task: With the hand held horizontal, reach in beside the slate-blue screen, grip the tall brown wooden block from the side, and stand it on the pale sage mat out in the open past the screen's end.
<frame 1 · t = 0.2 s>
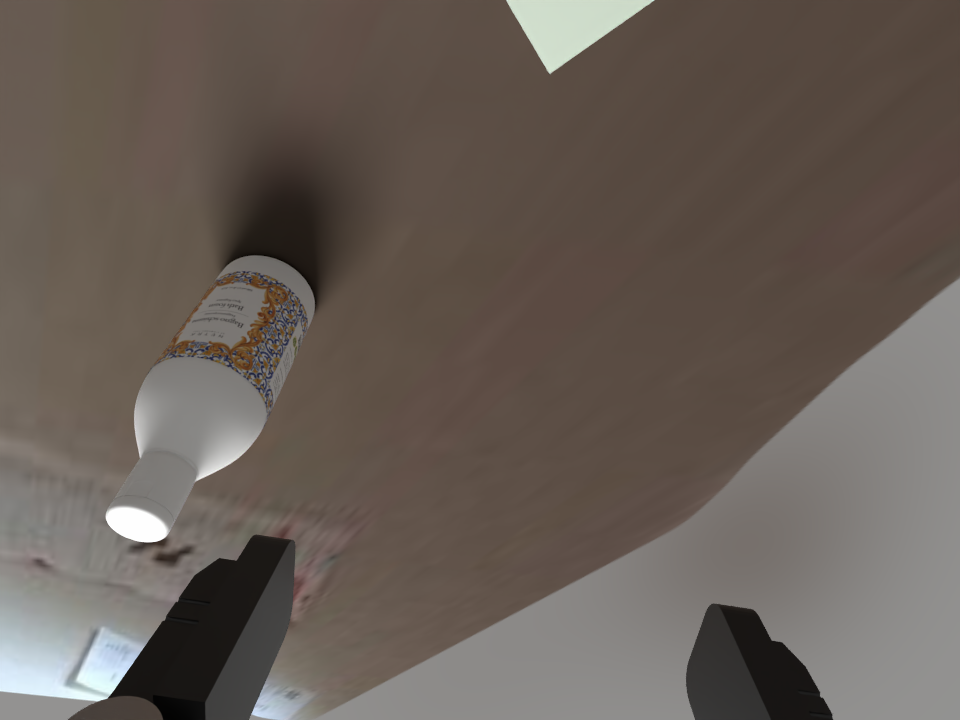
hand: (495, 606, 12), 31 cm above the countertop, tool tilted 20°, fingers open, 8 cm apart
bath foam: (270, 292, 45), on the countertop
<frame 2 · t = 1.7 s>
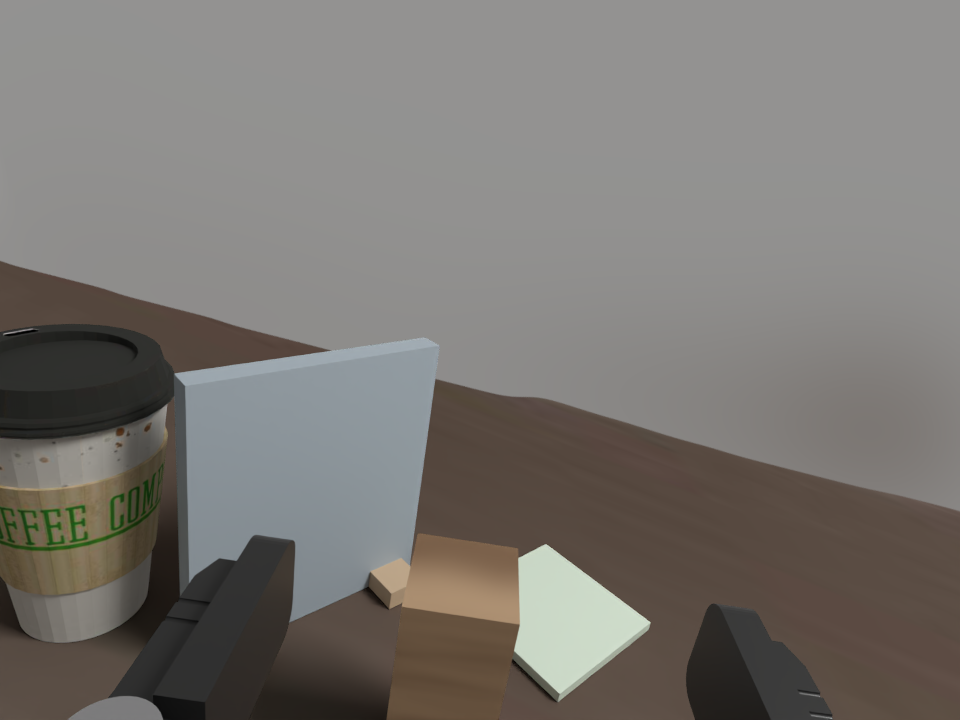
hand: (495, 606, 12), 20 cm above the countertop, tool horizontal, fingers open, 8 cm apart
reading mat: (549, 614, 39), on the countertop
coffee cup: (86, 602, 35), on the countertop
screen: (308, 604, 37), on the countertop
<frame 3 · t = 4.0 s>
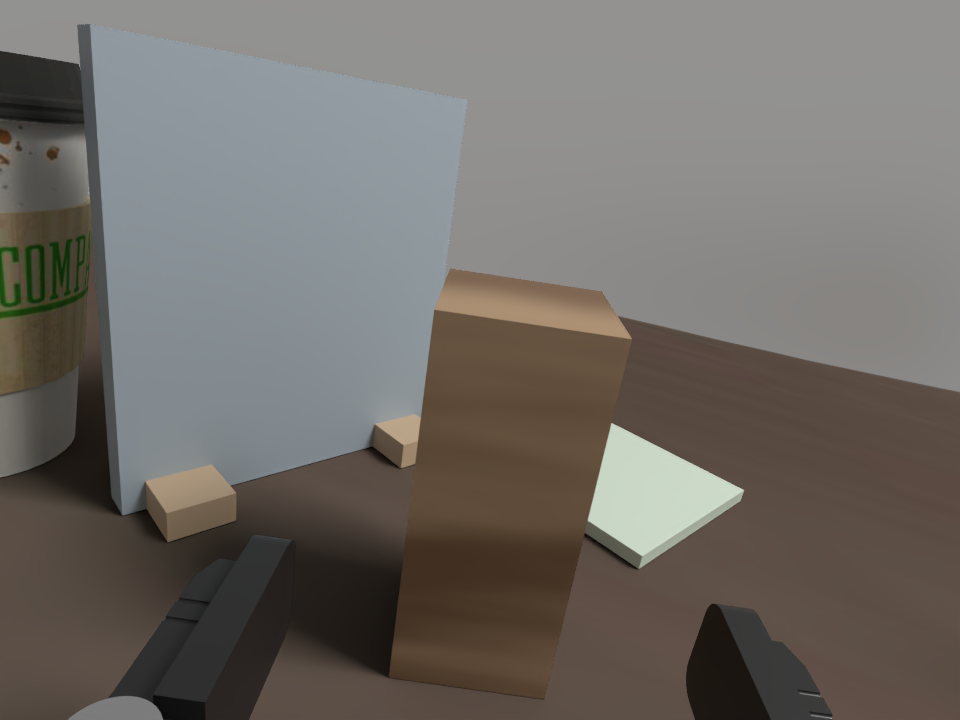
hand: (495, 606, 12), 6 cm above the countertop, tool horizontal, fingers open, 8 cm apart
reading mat: (611, 482, 30), on the countertop
screen: (292, 459, 28), on the countertop
brown wooden block: (470, 629, 20), on the countertop
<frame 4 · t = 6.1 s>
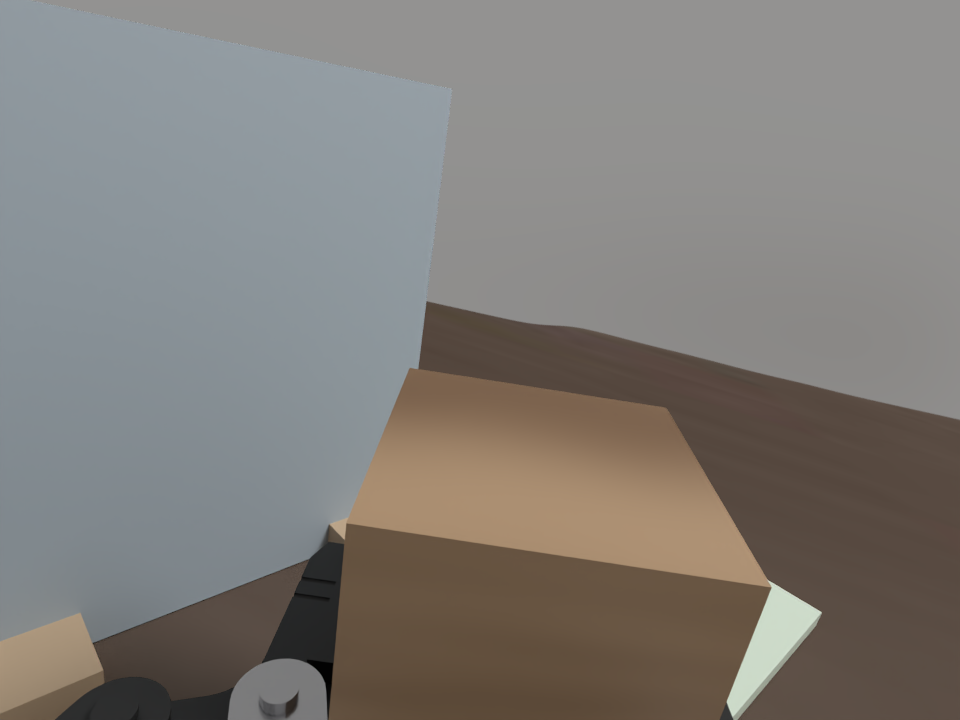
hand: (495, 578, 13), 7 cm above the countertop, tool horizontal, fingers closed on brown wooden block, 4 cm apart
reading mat: (644, 600, 22), on the countertop
screen: (212, 580, 20), on the countertop
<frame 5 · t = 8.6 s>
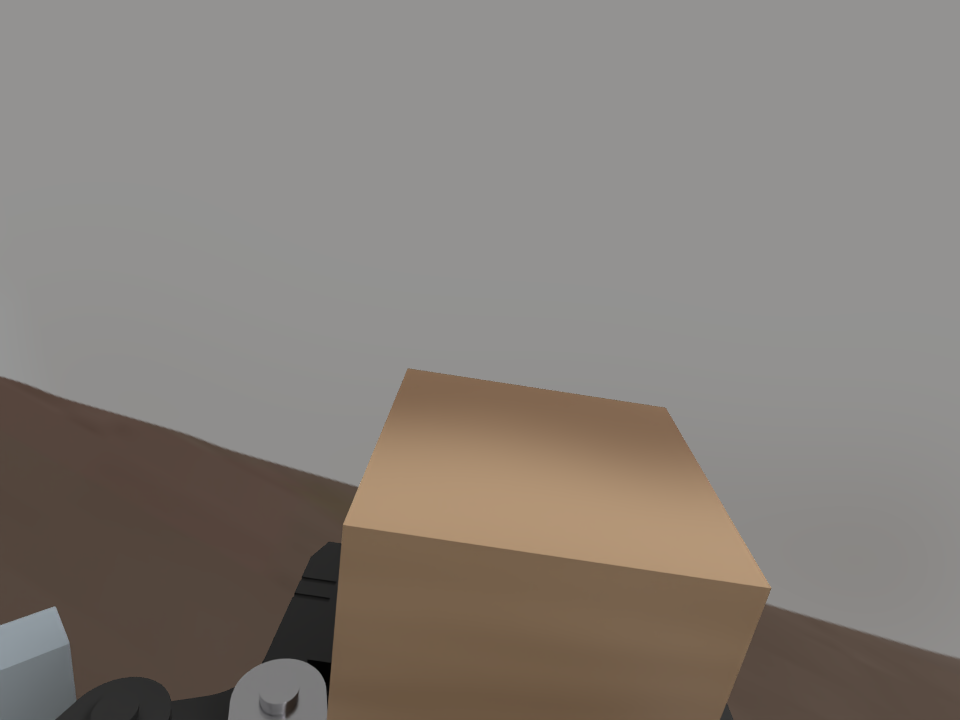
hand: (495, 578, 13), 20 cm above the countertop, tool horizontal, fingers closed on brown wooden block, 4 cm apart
when the fingers open (8 cm above the countertop, at t = 11.3 s): brown wooden block drops 1 cm, resting on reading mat.
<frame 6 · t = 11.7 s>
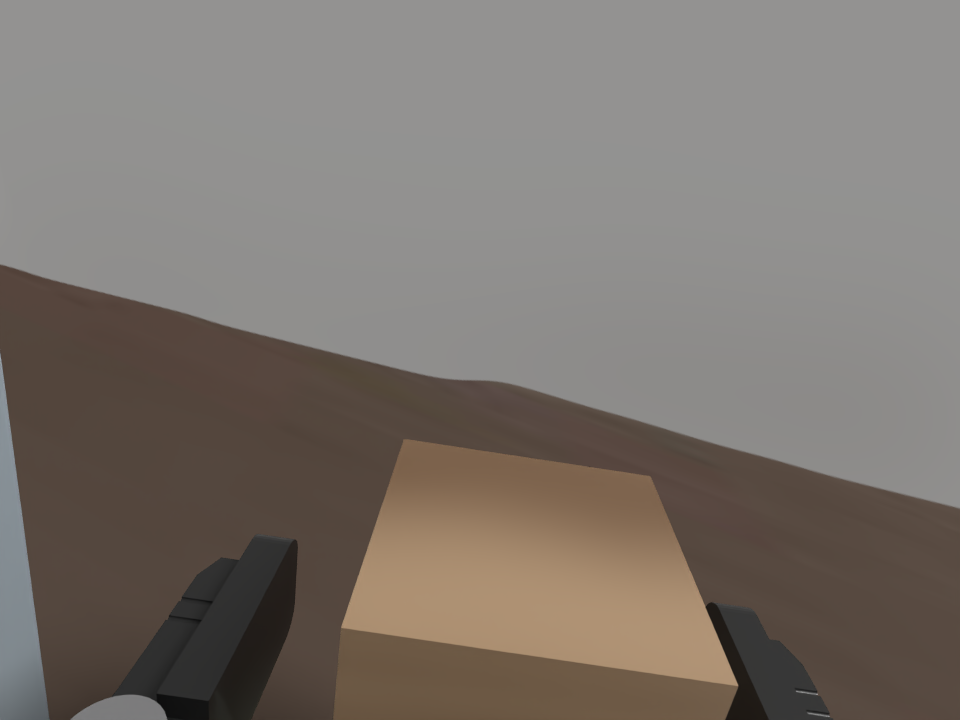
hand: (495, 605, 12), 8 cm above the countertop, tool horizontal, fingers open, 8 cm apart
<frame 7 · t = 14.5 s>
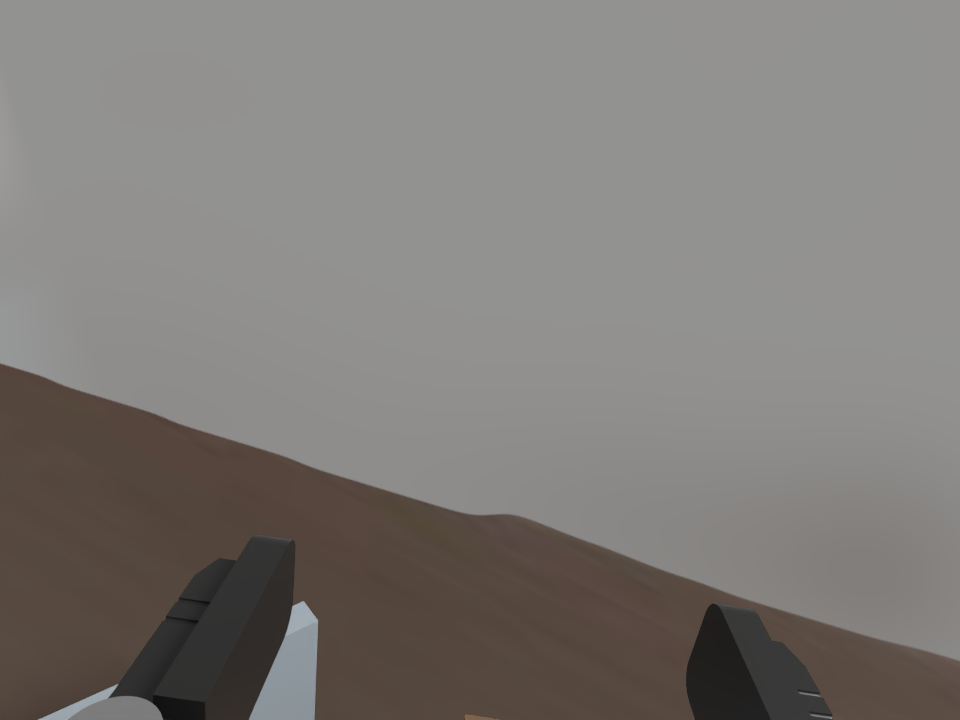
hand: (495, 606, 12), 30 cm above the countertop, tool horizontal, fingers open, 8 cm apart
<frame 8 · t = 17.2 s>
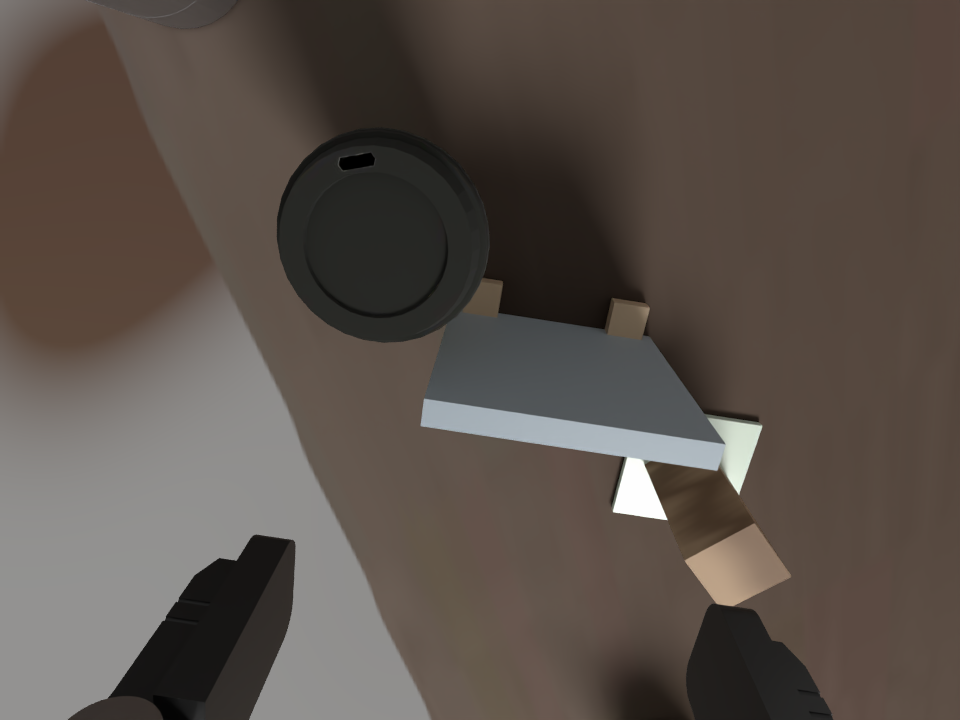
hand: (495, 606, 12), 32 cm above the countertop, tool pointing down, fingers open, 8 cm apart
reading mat: (683, 466, 47), on the countertop
coffee cup: (420, 207, 41), on the countertop
screen: (549, 330, 43), on the countertop
brown wooden block: (686, 471, 46), point 1 cm above the countertop, touching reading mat
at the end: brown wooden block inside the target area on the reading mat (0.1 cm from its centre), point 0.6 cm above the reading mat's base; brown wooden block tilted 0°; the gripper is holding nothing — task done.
